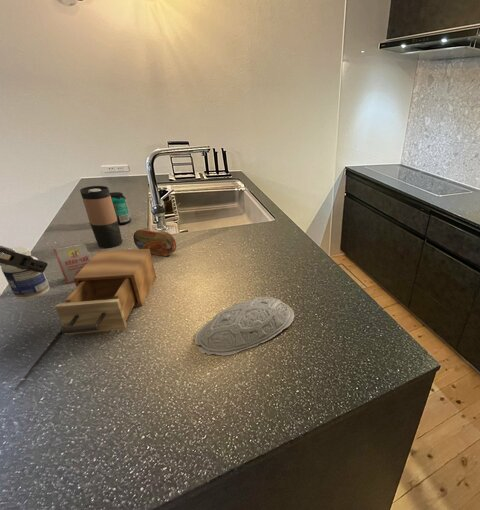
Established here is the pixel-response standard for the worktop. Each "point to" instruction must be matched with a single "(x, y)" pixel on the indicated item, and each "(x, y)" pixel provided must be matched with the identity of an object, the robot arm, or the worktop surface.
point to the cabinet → (122, 269)
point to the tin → (155, 241)
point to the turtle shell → (244, 326)
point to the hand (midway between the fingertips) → (32, 265)
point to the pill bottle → (25, 279)
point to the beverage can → (120, 208)
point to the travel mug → (102, 216)
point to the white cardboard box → (72, 260)
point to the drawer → (97, 306)
